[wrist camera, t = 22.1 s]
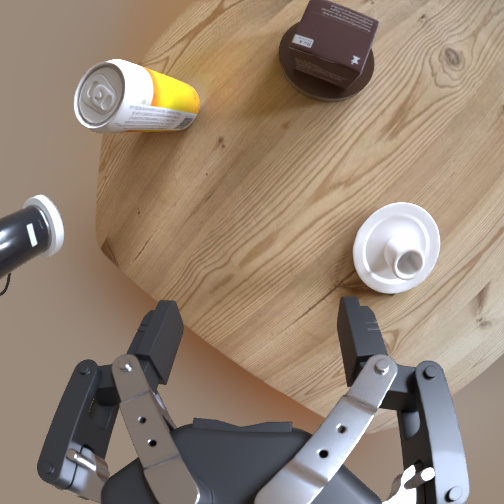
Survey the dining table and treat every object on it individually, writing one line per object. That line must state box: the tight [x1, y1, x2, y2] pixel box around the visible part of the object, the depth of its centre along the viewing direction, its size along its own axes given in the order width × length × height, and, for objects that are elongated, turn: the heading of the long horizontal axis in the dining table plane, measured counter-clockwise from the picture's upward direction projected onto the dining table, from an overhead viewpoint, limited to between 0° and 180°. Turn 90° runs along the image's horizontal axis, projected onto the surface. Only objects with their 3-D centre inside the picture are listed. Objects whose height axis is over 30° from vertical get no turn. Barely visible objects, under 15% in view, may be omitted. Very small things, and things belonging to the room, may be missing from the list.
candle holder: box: [353, 203, 440, 294], centre depth 29 cm, size 12×12×4 cm
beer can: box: [74, 59, 200, 133], centre depth 22 cm, size 6×6×15 cm
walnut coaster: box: [279, 22, 374, 102], centre depth 23 cm, size 10×10×2 cm
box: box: [289, 0, 379, 89], centre depth 19 cm, size 6×6×7 cm
